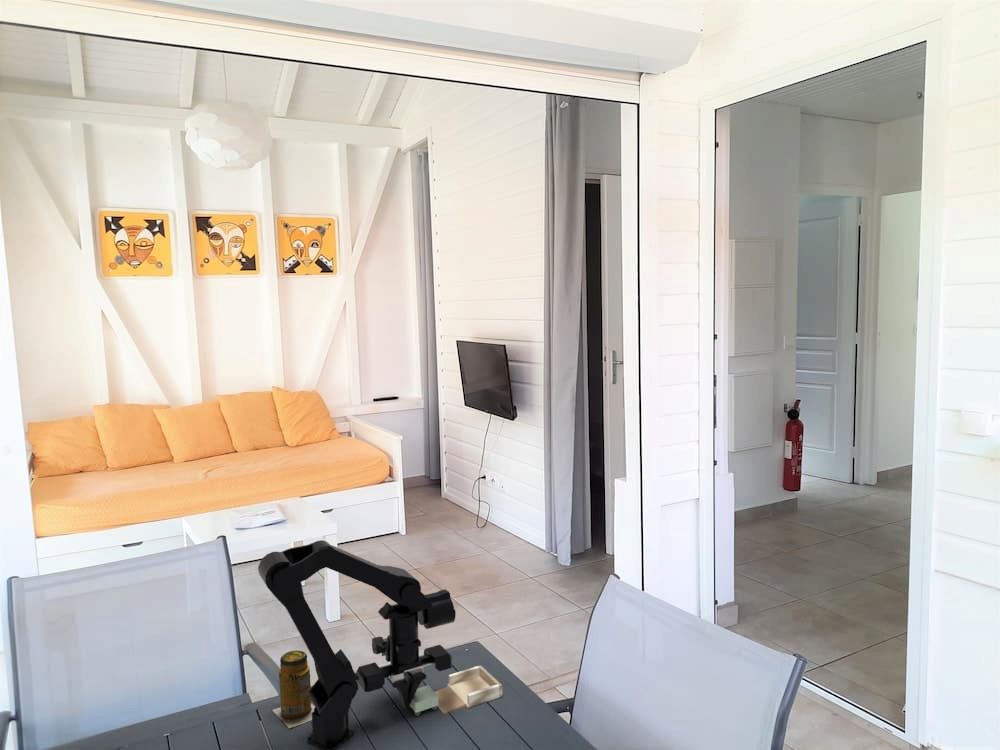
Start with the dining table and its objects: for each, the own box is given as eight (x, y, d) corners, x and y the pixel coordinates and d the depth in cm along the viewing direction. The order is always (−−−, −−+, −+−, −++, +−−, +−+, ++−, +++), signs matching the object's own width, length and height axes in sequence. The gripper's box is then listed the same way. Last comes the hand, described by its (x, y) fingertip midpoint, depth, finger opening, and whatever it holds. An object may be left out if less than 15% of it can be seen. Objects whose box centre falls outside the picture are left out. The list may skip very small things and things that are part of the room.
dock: (445, 717, 146) (445, 703, 145) (426, 695, 154) (425, 682, 153) (502, 698, 152) (502, 685, 152) (480, 677, 160) (480, 665, 160)
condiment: (305, 698, 153) (302, 644, 152) (323, 715, 147) (320, 659, 145) (272, 711, 148) (268, 655, 147) (289, 730, 142) (285, 672, 141)
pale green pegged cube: (415, 717, 145) (415, 700, 144) (406, 706, 149) (406, 689, 149) (438, 710, 147) (438, 693, 147) (429, 699, 152) (428, 682, 151)
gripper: (430, 608, 156) (431, 676, 158) (346, 628, 147) (348, 701, 149) (452, 628, 146) (454, 701, 148) (364, 651, 137) (366, 729, 139)
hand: (406, 707), depth 146 cm, fingers closed
